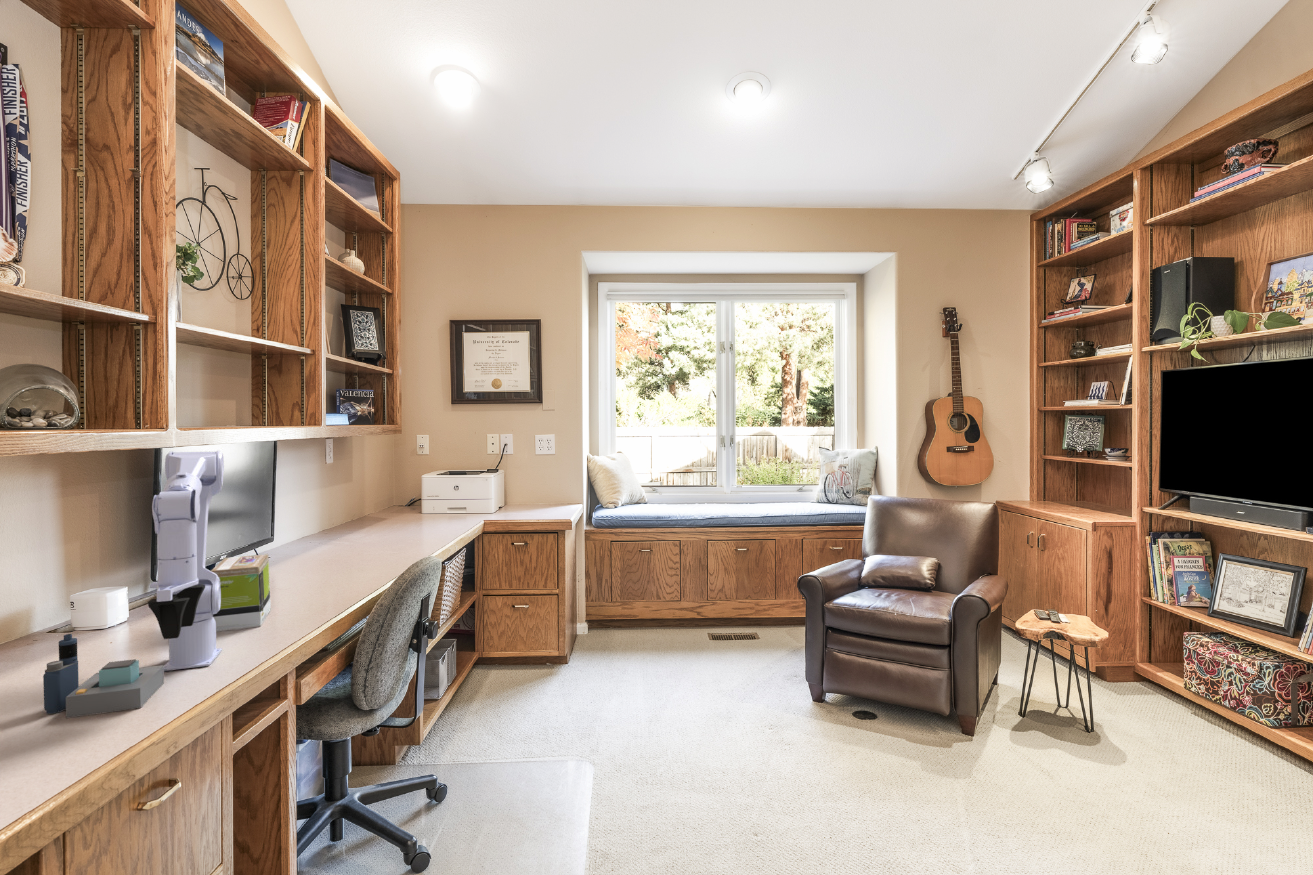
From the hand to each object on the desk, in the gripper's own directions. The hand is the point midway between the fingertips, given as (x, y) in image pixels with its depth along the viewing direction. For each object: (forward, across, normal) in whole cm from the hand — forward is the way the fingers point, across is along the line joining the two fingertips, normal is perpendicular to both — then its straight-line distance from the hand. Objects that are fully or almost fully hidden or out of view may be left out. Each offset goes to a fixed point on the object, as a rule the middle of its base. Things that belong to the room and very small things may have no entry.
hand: (178, 632), depth 116 cm
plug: (+10, +1, -8) cm, 13 cm away
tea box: (+10, -43, +1) cm, 44 cm away
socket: (+10, +1, -9) cm, 14 cm away
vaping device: (+11, +2, -16) cm, 19 cm away
